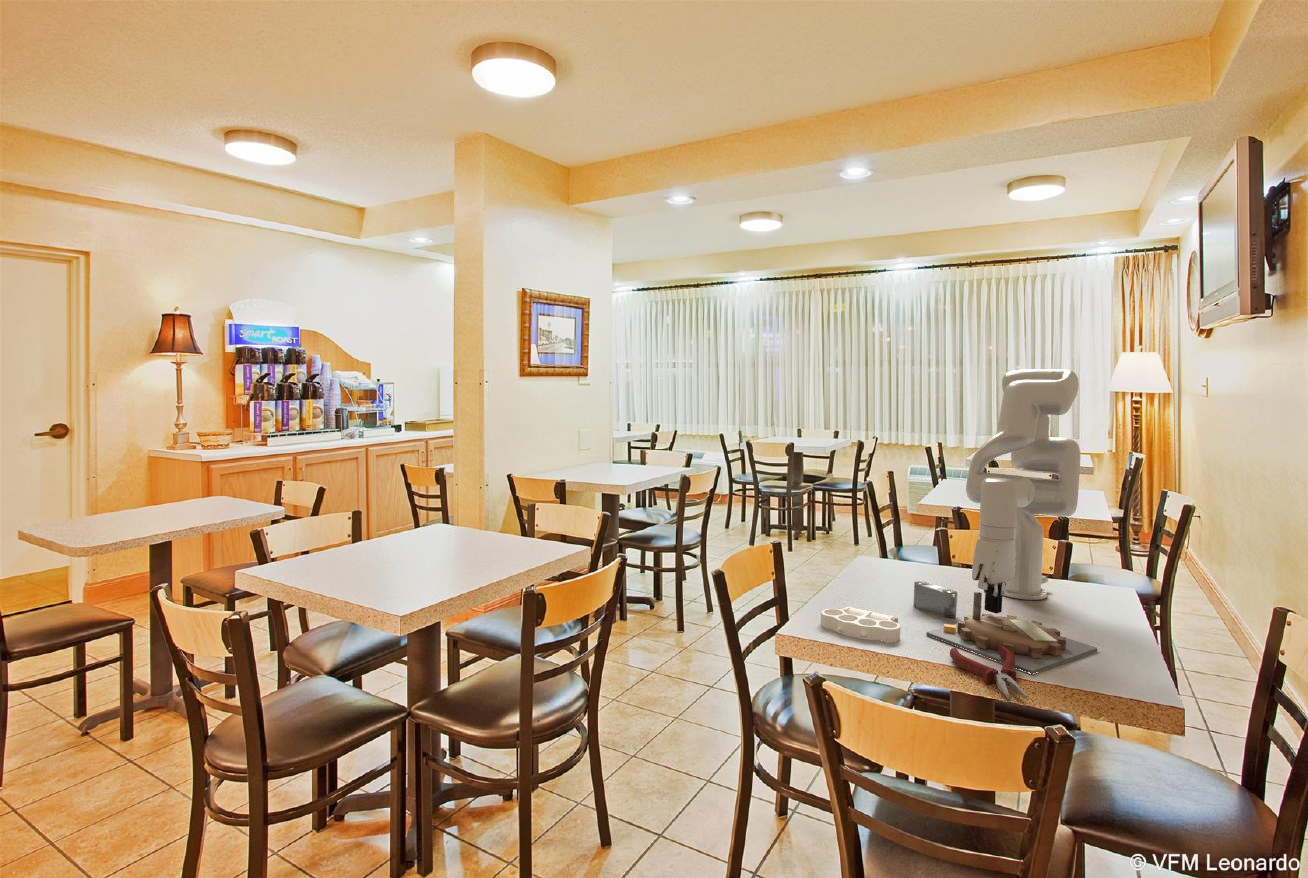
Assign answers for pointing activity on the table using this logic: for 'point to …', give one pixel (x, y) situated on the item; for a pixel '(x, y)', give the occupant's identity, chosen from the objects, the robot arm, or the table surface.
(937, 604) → the chain link
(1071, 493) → the robot arm
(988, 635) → the sprocket wheel
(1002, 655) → the pliers
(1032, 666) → the index base plate
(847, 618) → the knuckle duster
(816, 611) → the table surface
